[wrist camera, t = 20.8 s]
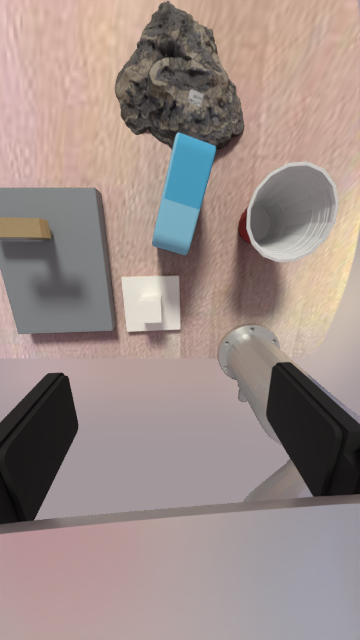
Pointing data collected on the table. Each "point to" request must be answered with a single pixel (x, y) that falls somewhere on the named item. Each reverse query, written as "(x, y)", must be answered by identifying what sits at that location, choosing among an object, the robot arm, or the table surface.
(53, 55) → the table surface
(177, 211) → the data package
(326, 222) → the plastic cup
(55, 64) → the table surface
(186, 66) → the geode
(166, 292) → the lid
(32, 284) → the plate
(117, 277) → the table surface
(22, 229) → the tan t-shaped piece
